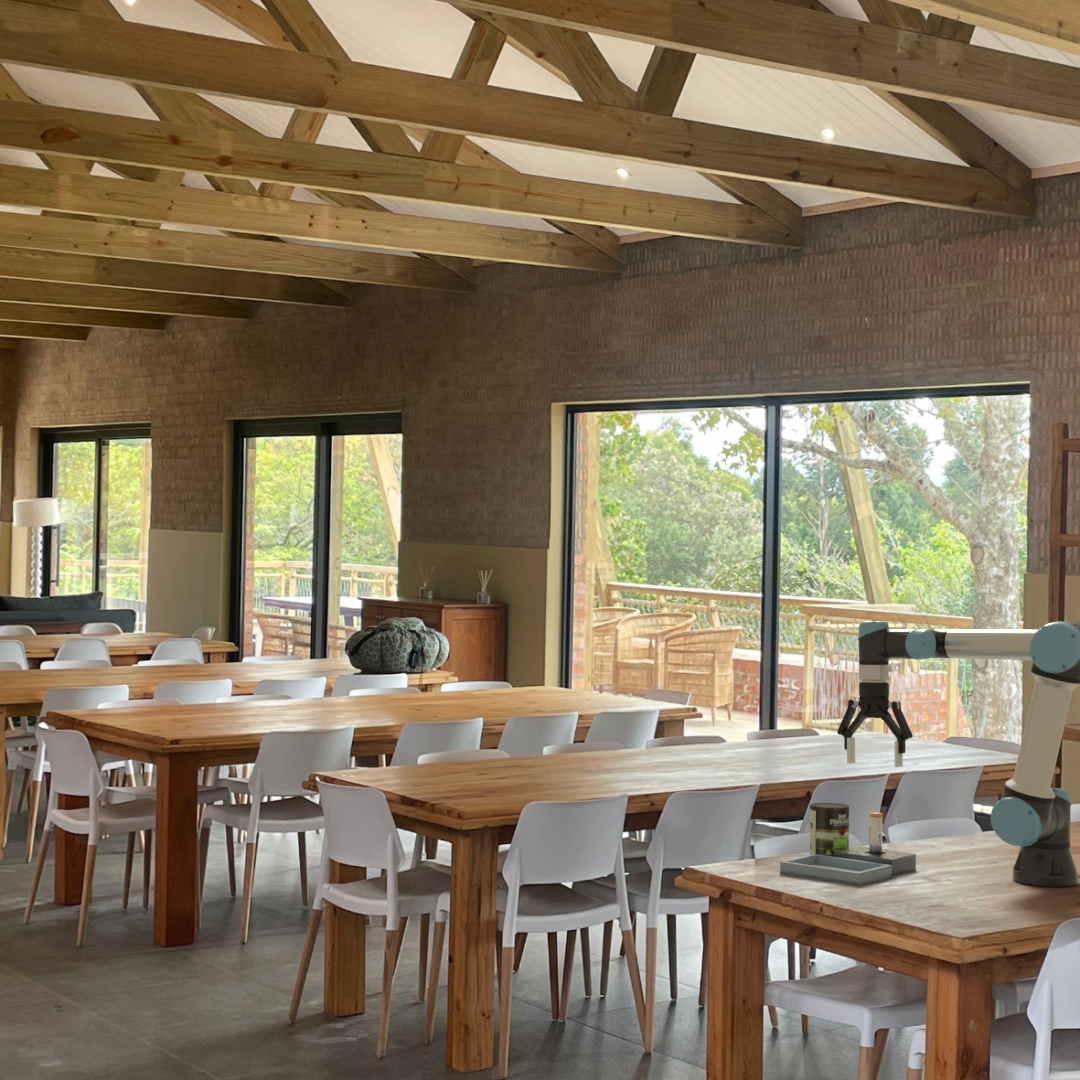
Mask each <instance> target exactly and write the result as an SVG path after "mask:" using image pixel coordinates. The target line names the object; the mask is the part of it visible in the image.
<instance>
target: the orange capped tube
mask: <svg viewBox="0 0 1080 1080" xmlns="http://www.w3.org/2000/svg"><path fill="white" fill-rule="evenodd" d="M868 814H869V815H868V816H869V818H868V819H869V823H868V824H869V825H868V826H869V827H868V829H869V831H868V832H869V834H868V836H869V837H868V838H869V840H868V841H869V842H868V845H869V854H876V855H881V854H882V849H883V813H882V812H869V813H868Z"/></svg>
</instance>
